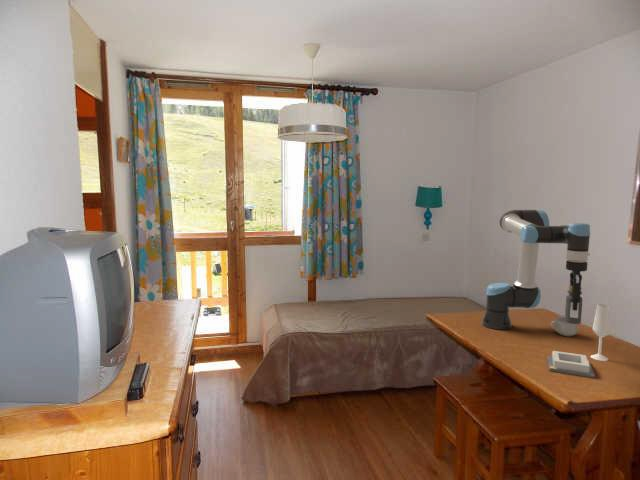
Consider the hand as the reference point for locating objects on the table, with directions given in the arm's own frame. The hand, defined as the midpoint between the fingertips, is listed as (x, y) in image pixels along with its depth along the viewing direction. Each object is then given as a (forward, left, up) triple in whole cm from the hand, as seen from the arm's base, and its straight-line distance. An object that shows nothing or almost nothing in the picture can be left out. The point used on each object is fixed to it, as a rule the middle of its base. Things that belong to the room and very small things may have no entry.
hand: (573, 315), depth 177 cm
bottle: (0, 0, -3) cm, 3 cm away
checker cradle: (0, 0, -23) cm, 23 cm away
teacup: (-46, +1, -23) cm, 51 cm away
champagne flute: (-17, +13, -23) cm, 31 cm away
